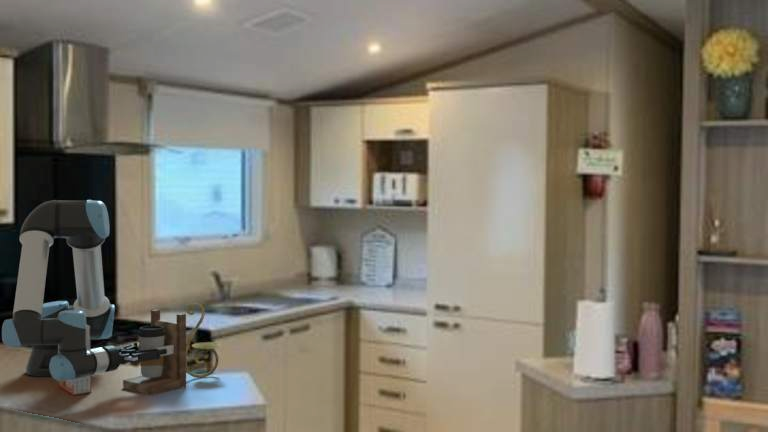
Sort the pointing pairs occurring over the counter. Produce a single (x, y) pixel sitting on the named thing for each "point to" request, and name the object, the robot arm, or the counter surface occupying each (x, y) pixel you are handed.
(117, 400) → the counter surface
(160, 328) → the coffee cup
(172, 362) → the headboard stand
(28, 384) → the counter surface
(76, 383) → the cracker box
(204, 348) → the wall sconce
